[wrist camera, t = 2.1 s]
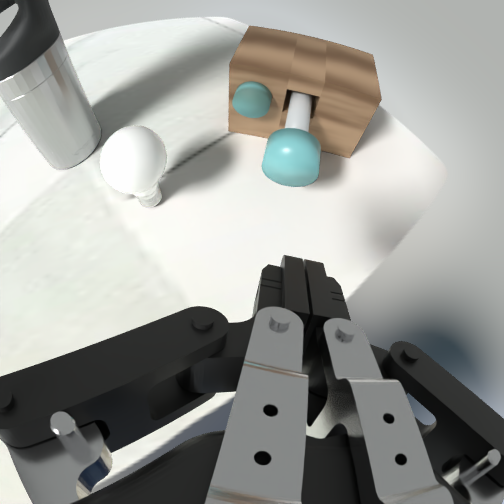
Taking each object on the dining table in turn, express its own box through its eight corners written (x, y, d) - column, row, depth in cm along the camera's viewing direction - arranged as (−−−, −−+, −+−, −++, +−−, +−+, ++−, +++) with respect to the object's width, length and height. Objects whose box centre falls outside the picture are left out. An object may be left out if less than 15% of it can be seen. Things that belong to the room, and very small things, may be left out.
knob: (311, 191, 28) (325, 160, 23) (259, 180, 28) (264, 147, 23) (320, 97, 33) (329, 67, 28) (280, 88, 33) (286, 56, 28)
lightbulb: (119, 190, 32) (85, 131, 22) (167, 168, 33) (148, 102, 23) (135, 234, 30) (97, 181, 20) (187, 210, 32) (170, 147, 21)
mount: (348, 168, 35) (383, 110, 25) (225, 141, 35) (224, 72, 25) (348, 109, 39) (372, 54, 29) (244, 85, 39) (249, 25, 29)
